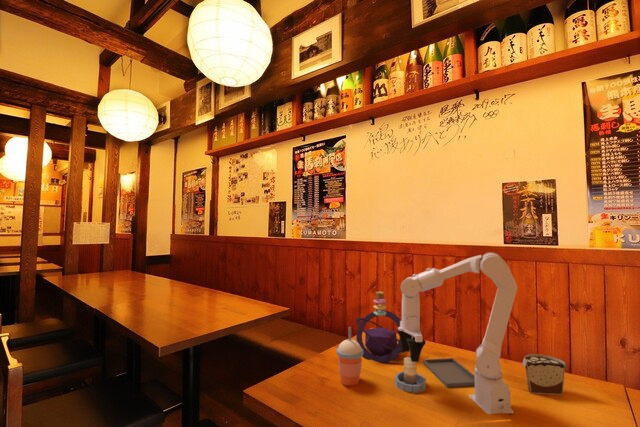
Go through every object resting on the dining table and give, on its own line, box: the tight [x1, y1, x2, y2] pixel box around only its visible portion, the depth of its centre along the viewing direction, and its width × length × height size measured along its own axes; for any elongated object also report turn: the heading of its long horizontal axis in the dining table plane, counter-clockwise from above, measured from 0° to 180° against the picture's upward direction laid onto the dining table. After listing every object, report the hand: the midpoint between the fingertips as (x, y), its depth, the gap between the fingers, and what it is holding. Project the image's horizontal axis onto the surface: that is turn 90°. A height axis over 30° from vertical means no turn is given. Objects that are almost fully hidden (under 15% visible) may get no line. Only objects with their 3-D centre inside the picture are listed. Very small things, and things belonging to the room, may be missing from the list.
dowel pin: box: [403, 356, 418, 385], centre depth 102 cm, size 4×4×8 cm
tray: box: [422, 357, 475, 389], centre depth 110 cm, size 18×12×2 cm, turn 6°
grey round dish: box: [394, 371, 427, 394], centre depth 102 cm, size 10×10×2 cm
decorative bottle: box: [355, 291, 405, 364], centre depth 129 cm, size 22×21×25 cm
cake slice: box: [522, 353, 568, 396], centre depth 101 cm, size 12×6×10 cm, turn 84°
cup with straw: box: [335, 326, 364, 387], centre depth 106 cm, size 9×9×18 cm
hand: (410, 356), depth 103 cm, fingers open, 7 cm apart
